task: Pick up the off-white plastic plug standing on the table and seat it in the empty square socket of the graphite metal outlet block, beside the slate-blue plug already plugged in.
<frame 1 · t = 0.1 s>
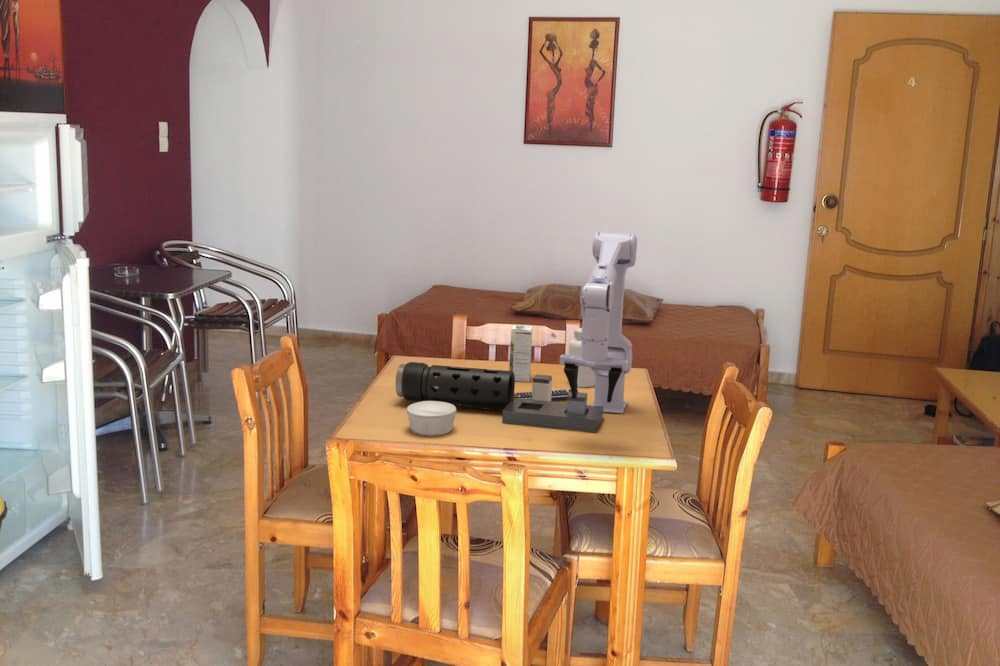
hand: (591, 399, 206), 10 cm above the table, fingers open, 7 cm apart
syrup box: (519, 379, 259), on the table
twin plug: (576, 423, 222), resting in outlet block
outlet block: (553, 420, 223), on the table
ramekin: (431, 431, 215), on the table
plug: (541, 404, 236), on the table
pill bottle: (582, 384, 256), on the table
muzzle brake: (454, 407, 233), on the table
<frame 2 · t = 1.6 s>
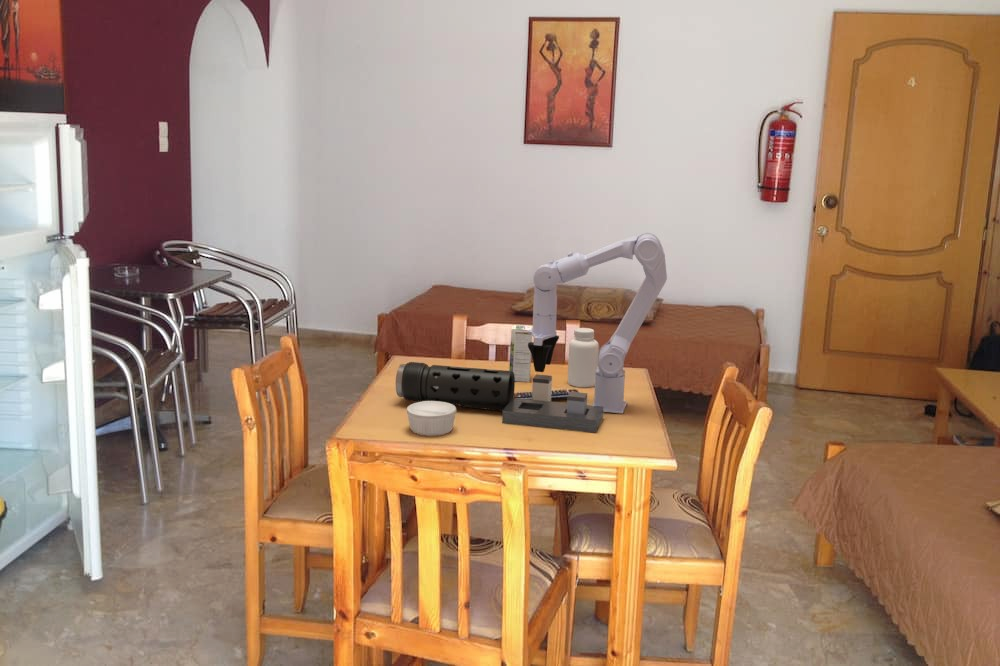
hand: (542, 367, 234), 9 cm above the table, fingers open, 7 cm apart
nothing on the table moved.
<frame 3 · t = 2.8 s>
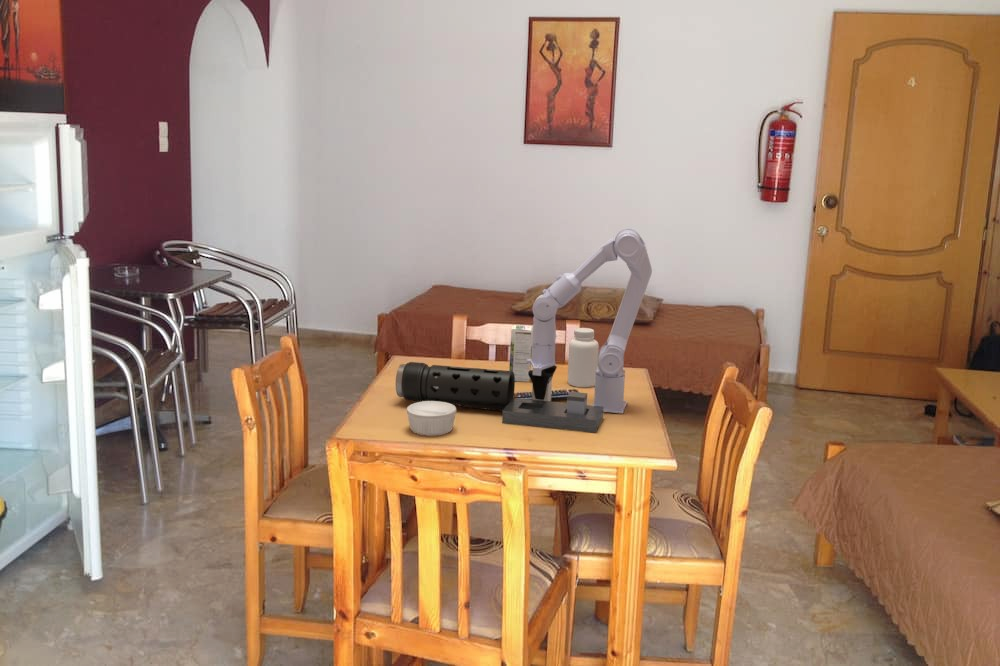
hand: (541, 396, 236), 2 cm above the table, fingers closed on plug, 4 cm apart
plug: (541, 404, 236), on the table, touching gripper
everything else where it was.
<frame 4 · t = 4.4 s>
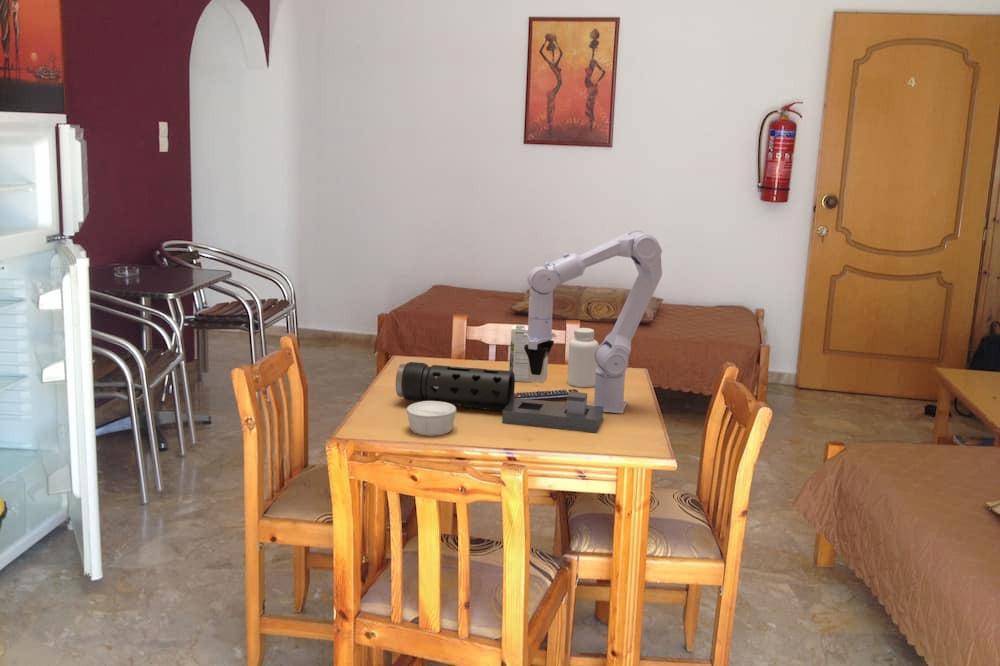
hand: (538, 372, 230), 9 cm above the table, fingers closed on plug, 4 cm apart
plug: (537, 380, 230), point 7 cm above the table, touching gripper
everything else where it was.
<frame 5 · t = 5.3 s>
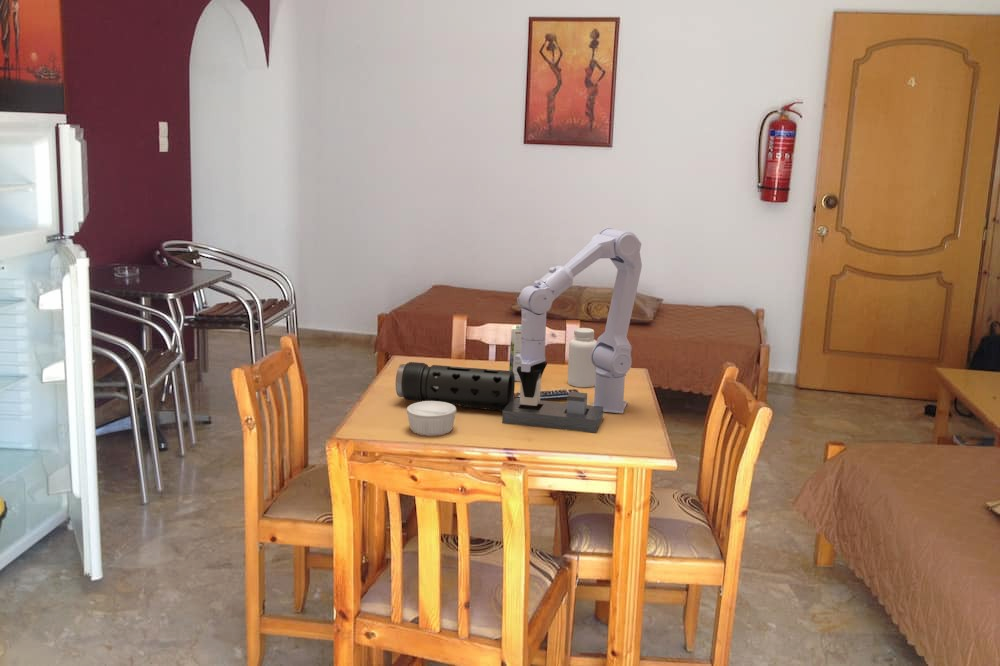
hand: (531, 394, 223), 6 cm above the table, fingers closed on plug, 4 cm apart
plug: (530, 402, 224), point 4 cm above the table, touching gripper
everything else where it was.
when the fingers open (4 cm above the table, at t = 6.1 s): plug drops 2 cm, resting in outlet block.
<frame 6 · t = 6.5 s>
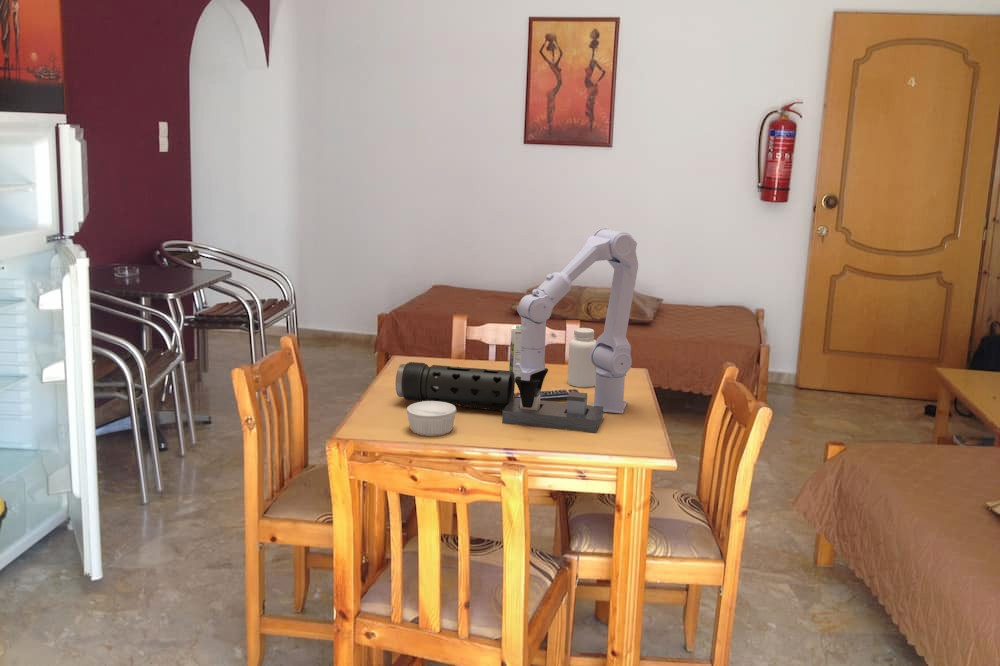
hand: (530, 402, 224), 4 cm above the table, fingers open, 7 cm apart
plug: (529, 418, 225), resting in outlet block
everything else where it was.
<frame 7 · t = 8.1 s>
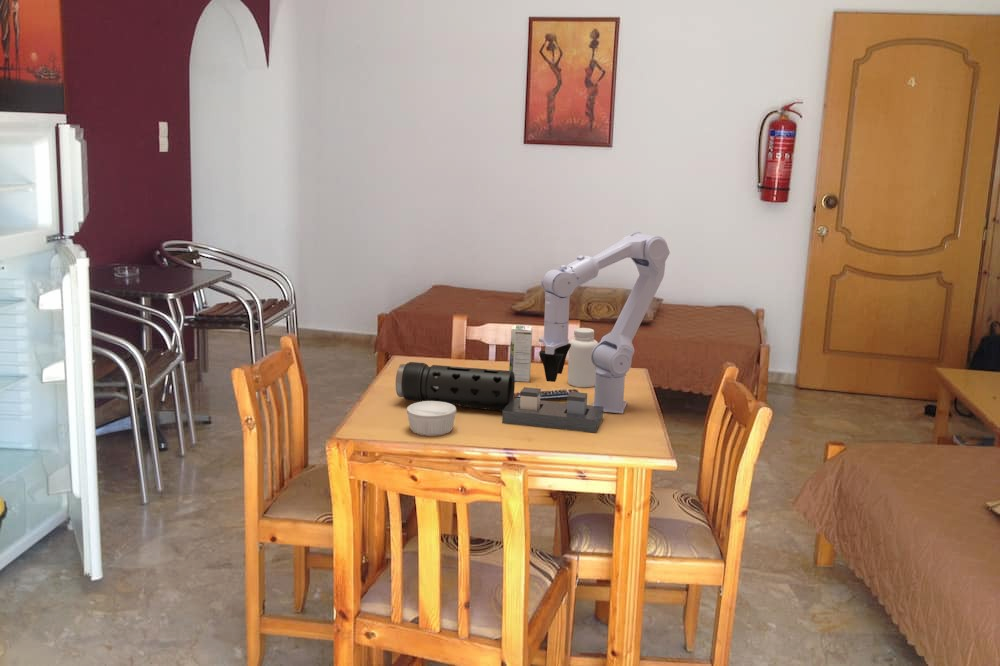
hand: (554, 377, 226), 9 cm above the table, fingers open, 7 cm apart
nothing on the table moved.
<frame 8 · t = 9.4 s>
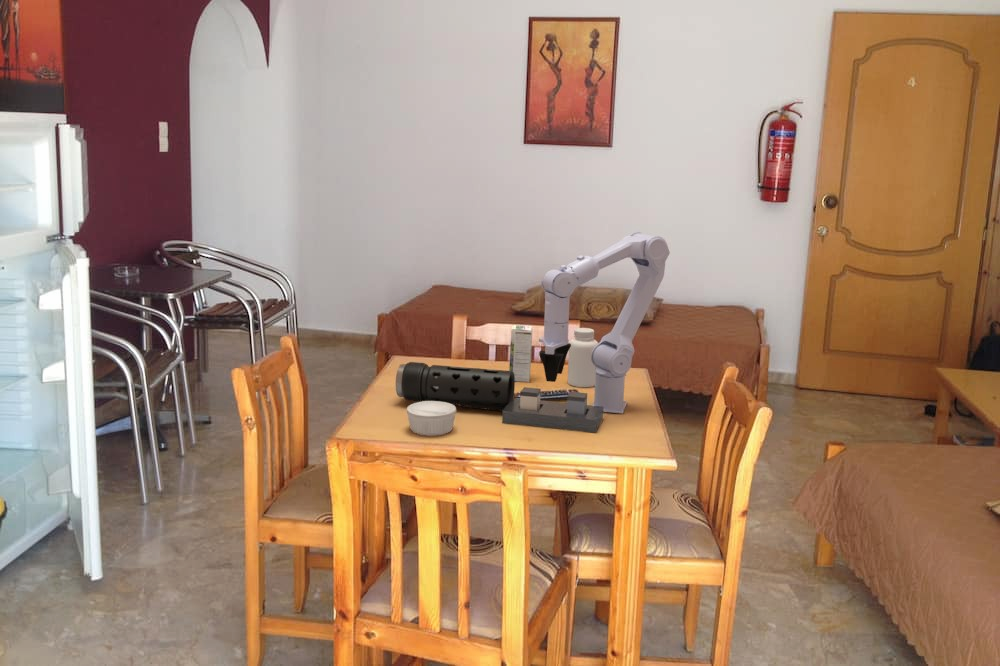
hand: (554, 377, 226), 9 cm above the table, fingers open, 7 cm apart
nothing on the table moved.
at the end: plug 0.2 cm from the target spot on the outlet block, point 0.0 cm above the outlet block's base; plug tilted 0°; the gripper is holding nothing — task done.
